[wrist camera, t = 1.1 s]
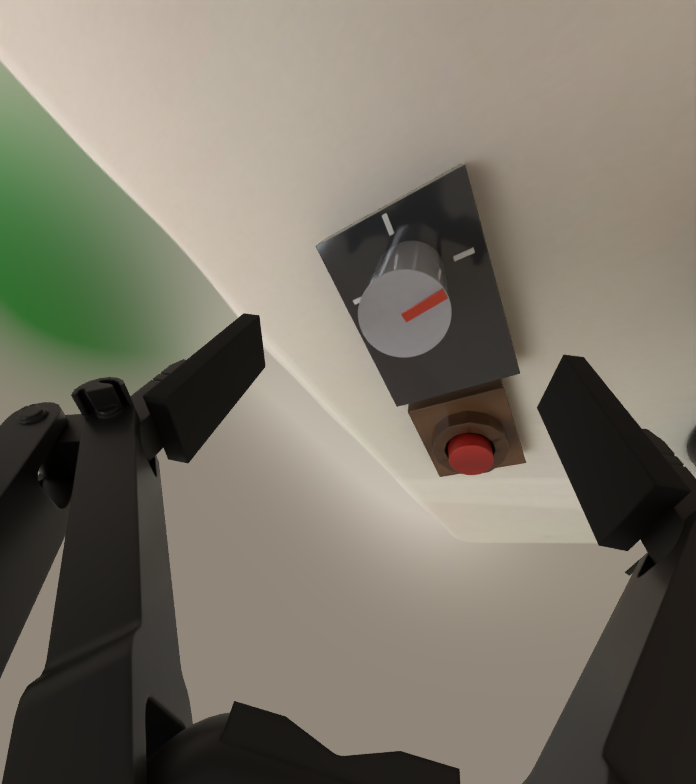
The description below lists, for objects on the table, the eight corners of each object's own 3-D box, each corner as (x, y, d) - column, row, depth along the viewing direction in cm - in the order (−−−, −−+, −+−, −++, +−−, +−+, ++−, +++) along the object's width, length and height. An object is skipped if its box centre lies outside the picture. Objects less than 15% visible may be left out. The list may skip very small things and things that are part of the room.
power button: (442, 437, 32) (443, 450, 30) (485, 428, 30) (487, 441, 29) (454, 465, 33) (456, 478, 32) (495, 457, 32) (498, 471, 30)
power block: (408, 399, 34) (406, 423, 31) (499, 374, 30) (507, 399, 27) (439, 462, 39) (440, 490, 35) (521, 447, 35) (530, 476, 32)
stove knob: (398, 323, 26) (389, 373, 20) (361, 268, 24) (338, 306, 18) (458, 287, 24) (469, 333, 18) (422, 223, 22) (420, 249, 16)
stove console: (325, 238, 27) (314, 246, 24) (460, 163, 22) (465, 164, 19) (399, 389, 34) (396, 407, 31) (512, 356, 29) (520, 374, 27)
